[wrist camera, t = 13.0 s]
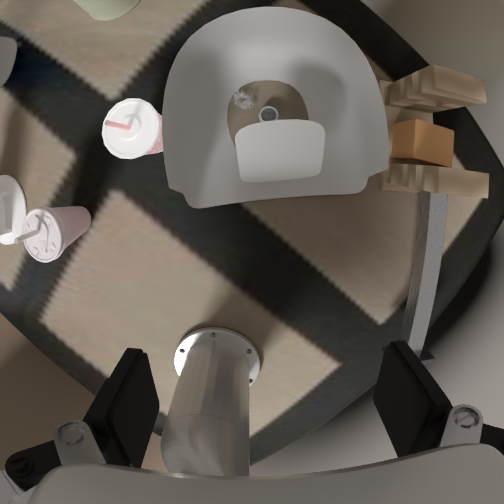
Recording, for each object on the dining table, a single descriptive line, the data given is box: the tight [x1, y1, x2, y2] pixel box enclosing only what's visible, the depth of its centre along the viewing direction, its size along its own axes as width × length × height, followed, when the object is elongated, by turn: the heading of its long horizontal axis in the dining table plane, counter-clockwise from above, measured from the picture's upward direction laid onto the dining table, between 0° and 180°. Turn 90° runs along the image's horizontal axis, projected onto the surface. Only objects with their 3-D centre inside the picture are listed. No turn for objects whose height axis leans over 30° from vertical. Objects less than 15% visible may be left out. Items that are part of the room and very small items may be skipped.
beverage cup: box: [102, 99, 163, 159], centre depth 28 cm, size 6×6×14 cm
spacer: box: [391, 119, 454, 168], centre depth 31 cm, size 4×6×6 cm
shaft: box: [382, 190, 448, 365], centre depth 33 cm, size 22×6×5 cm, turn 1°
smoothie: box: [14, 206, 91, 262], centre depth 31 cm, size 6×6×14 cm
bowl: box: [162, 7, 389, 208], centre depth 29 cm, size 20×19×12 cm
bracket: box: [377, 64, 489, 198], centre depth 29 cm, size 14×8×13 cm, turn 1°
